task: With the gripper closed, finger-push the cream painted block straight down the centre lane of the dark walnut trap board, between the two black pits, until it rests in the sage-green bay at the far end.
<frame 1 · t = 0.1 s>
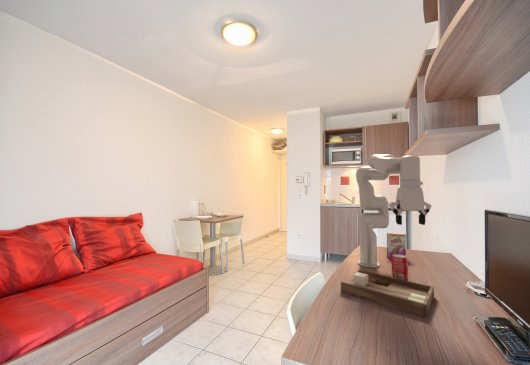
hand: (410, 224, 103), 31 cm above the table, tool pointing down, fingers open, 9 cm apart
trap board: (386, 294, 105), on the table
cream block: (361, 283, 113), point 2 cm above the table, touching trap board
candy bar box: (396, 257, 162), on the table
red carton: (399, 282, 120), on the table
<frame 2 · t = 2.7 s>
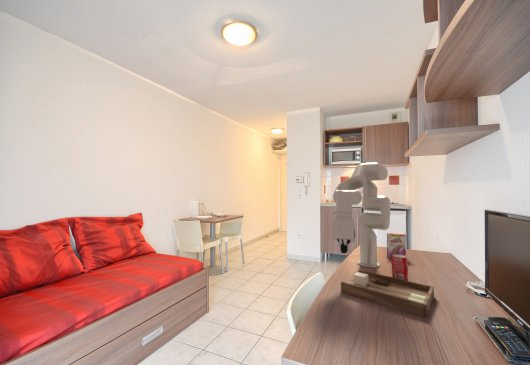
hand: (344, 252, 118), 15 cm above the table, tool pointing down, fingers closed
nothing on the table moved.
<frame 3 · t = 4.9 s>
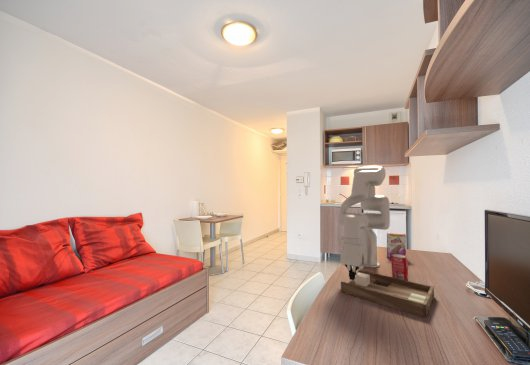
hand: (352, 279, 115), 3 cm above the table, tool pointing down, fingers closed
cream block: (362, 283, 112), point 2 cm above the table, touching gripper
everything else where it was.
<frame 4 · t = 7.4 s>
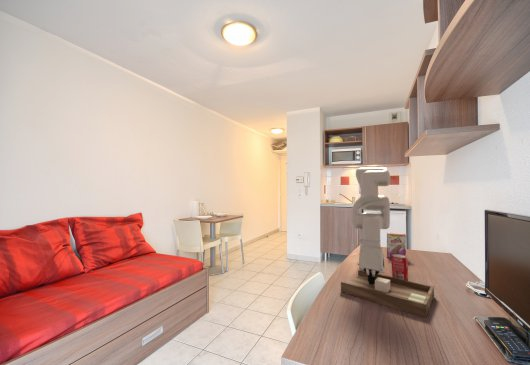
hand: (371, 283, 109), 3 cm above the table, tool pointing down, fingers closed
cream block: (382, 289, 106), point 2 cm above the table, touching gripper, trap board
everything else where it was.
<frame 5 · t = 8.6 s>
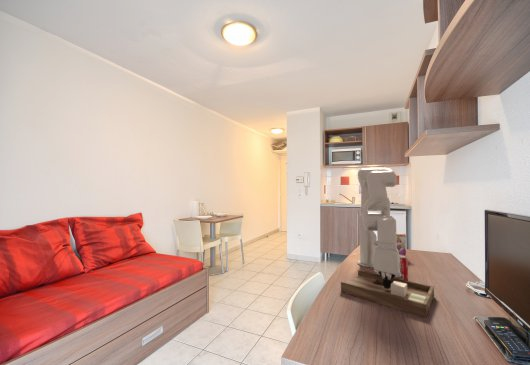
hand: (387, 287, 105), 3 cm above the table, tool pointing down, fingers closed
cream block: (399, 293, 102), point 2 cm above the table, touching gripper
everything else where it was.
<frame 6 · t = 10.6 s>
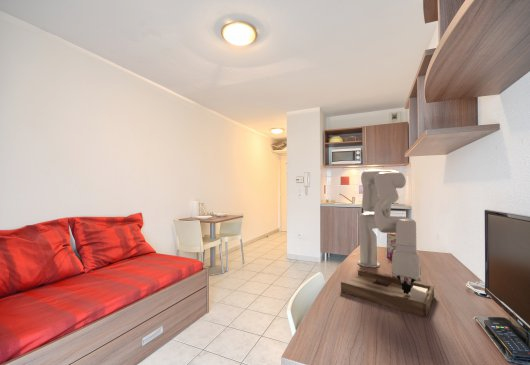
hand: (406, 292, 100), 3 cm above the table, tool pointing down, fingers closed
cream block: (419, 299, 97), point 2 cm above the table, touching gripper, trap board
everything else where it was.
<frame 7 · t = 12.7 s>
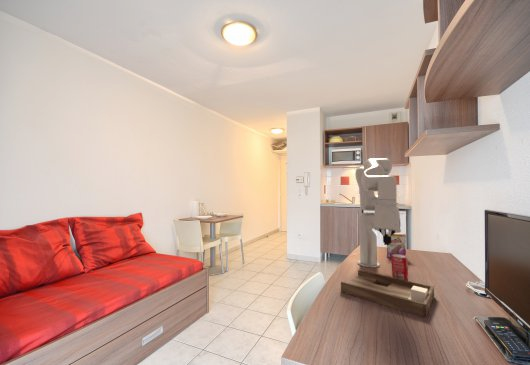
hand: (387, 244, 107), 22 cm above the table, tool pointing down, fingers closed
cream block: (419, 299, 97), point 2 cm above the table, touching trap board
everything else where it was.
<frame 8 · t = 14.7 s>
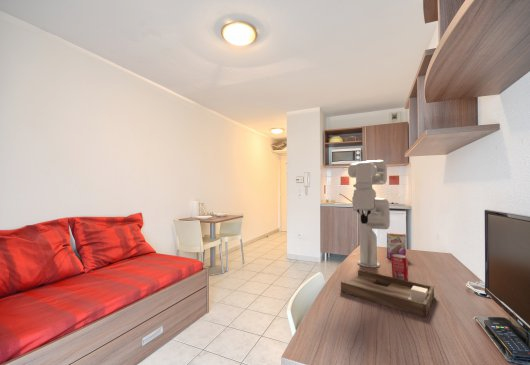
hand: (364, 223, 120), 29 cm above the table, tool pointing down, fingers closed
nothing on the table moved.
at the end: cream block inside the target area on the trap board (1.1 cm from its centre), point 2.0 cm above the trap board's base; cream block tilted 0° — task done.
